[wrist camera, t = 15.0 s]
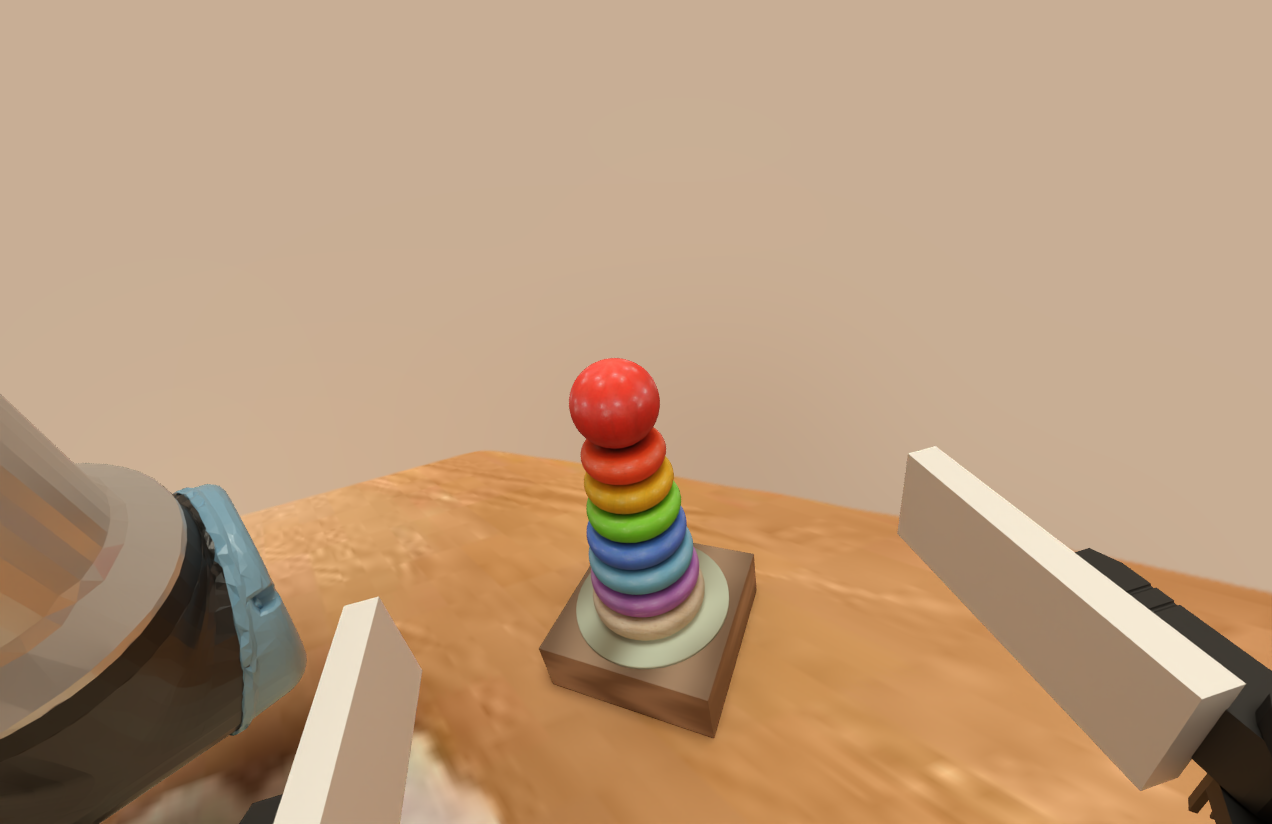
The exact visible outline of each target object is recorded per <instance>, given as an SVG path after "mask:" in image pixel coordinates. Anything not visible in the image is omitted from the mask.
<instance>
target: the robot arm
mask: <svg viewBox="0 0 1272 824" xmlns="http://www.w3.org/2000/svg"><path fill="white" fill-rule="evenodd" d="M898 535H899V536H900V537H901V538H902V539H903V540H904V541H905V542H906V543H907V544H908V545H909V546H910V547H911V548H912V550H913V551H914V552H915V553H916V554H917V555H918V556H919V557H920V558H921V559H922V560H923V561H924V562H925V563H926V564H927V565H928V566H929V568H930V569H931V570H932V571H933V572H934V573H935V574H936V575H937V576H938V577H939V578H940V579H941V580H942V581H943V582H944V583H945V585H946V586H947V587H948V588H949V589H950V590H951V591H952V592H953V593H954V594H955V595H956V596H957V597H958V598H959V599H960V600H961V602H962V603H963V604H964V605H965V606H966V607H967V608H968V609H969V610H970V611H971V612H972V613H973V614H974V615H975V616H976V617H977V618H978V620H979V621H980V622H981V623H982V624H983V625H984V626H985V627H986V628H987V629H988V630H989V631H990V632H991V633H992V634H993V635H994V637H995V638H996V639H997V640H998V641H999V642H1000V643H1001V644H1002V645H1003V646H1004V647H1005V648H1006V649H1007V650H1008V651H1009V652H1010V653H1011V655H1012V656H1013V657H1014V658H1015V659H1016V660H1017V661H1018V662H1019V663H1020V664H1021V665H1022V666H1023V667H1024V668H1025V669H1026V670H1027V672H1028V673H1029V674H1030V675H1031V676H1032V677H1033V678H1034V679H1035V680H1036V681H1037V682H1038V683H1039V684H1040V685H1041V686H1042V687H1043V689H1044V690H1045V691H1046V692H1047V693H1048V694H1049V695H1050V696H1051V697H1052V698H1053V699H1054V700H1055V701H1056V702H1057V703H1058V704H1059V705H1060V707H1061V708H1062V709H1063V710H1064V711H1065V712H1066V713H1067V714H1068V715H1069V716H1070V717H1071V718H1072V719H1073V720H1074V721H1075V722H1076V724H1077V725H1078V726H1079V727H1080V728H1081V729H1082V730H1083V731H1084V732H1085V733H1086V734H1087V735H1088V736H1089V737H1090V738H1091V739H1092V740H1093V742H1094V743H1095V744H1096V745H1097V746H1098V747H1099V748H1100V749H1101V750H1102V751H1103V752H1104V753H1105V754H1106V755H1107V756H1108V757H1109V759H1110V760H1111V761H1112V762H1113V763H1114V764H1115V765H1116V766H1117V767H1118V768H1119V769H1120V770H1121V771H1122V772H1123V773H1124V774H1125V775H1126V777H1127V778H1128V779H1129V780H1130V781H1131V782H1132V783H1133V784H1134V785H1135V786H1136V787H1137V788H1138V789H1139V790H1140V791H1142V790H1145V789H1147V788H1150V787H1153V786H1156V785H1158V784H1161V783H1164V782H1167V781H1169V780H1172V779H1175V778H1178V777H1179V776H1180V774H1181V773H1182V771H1183V770H1184V769H1185V767H1186V766H1187V765H1188V763H1189V762H1190V760H1191V759H1193V760H1194V761H1195V762H1196V763H1197V764H1198V765H1199V766H1200V767H1201V768H1203V769H1204V770H1205V771H1206V772H1207V775H1206V776H1205V777H1204V778H1203V780H1202V781H1201V782H1200V784H1199V785H1198V786H1197V787H1196V789H1195V790H1194V791H1193V793H1192V794H1191V795H1190V796H1189V798H1188V803H1189V811H1191V812H1194V813H1198V812H1199V811H1200V810H1201V809H1202V807H1203V806H1204V805H1205V804H1206V802H1207V801H1208V800H1209V802H1210V805H1211V809H1212V812H1211V814H1210V818H1211V819H1214V820H1215V822H1216V824H1272V671H1271V670H1270V669H1268V668H1267V667H1265V666H1264V665H1263V664H1261V663H1260V662H1258V661H1257V660H1256V659H1254V658H1253V657H1251V656H1250V655H1249V654H1247V653H1246V652H1245V651H1243V650H1242V649H1240V648H1239V647H1238V646H1236V645H1235V644H1233V643H1232V642H1231V641H1229V640H1228V639H1227V638H1225V637H1224V636H1222V635H1221V634H1220V633H1218V632H1217V631H1215V630H1214V629H1213V628H1211V627H1210V626H1209V625H1207V624H1206V623H1204V622H1203V621H1202V620H1200V619H1199V618H1198V617H1196V616H1195V615H1193V614H1192V613H1191V612H1189V611H1188V610H1186V609H1185V608H1184V607H1182V606H1181V605H1176V604H1175V603H1174V600H1173V599H1171V598H1170V597H1168V596H1167V595H1166V594H1164V593H1163V592H1162V591H1160V590H1159V589H1157V588H1153V587H1152V586H1151V583H1149V582H1148V581H1146V580H1145V579H1144V578H1142V577H1141V576H1139V575H1138V574H1137V573H1135V572H1134V571H1133V570H1131V569H1130V568H1128V567H1127V566H1126V565H1124V564H1123V563H1121V562H1119V561H1117V560H1114V559H1112V558H1110V557H1108V556H1106V555H1103V554H1101V553H1099V552H1096V551H1094V550H1092V549H1090V548H1088V549H1085V550H1081V551H1078V552H1073V551H1072V550H1071V549H1069V548H1068V547H1067V546H1065V545H1064V544H1062V543H1061V542H1060V541H1059V540H1058V539H1056V538H1055V537H1054V536H1052V535H1051V534H1050V533H1048V532H1047V531H1046V530H1044V529H1043V528H1042V527H1040V526H1039V525H1038V524H1037V523H1035V522H1034V521H1033V520H1031V519H1030V518H1029V517H1027V516H1026V515H1025V514H1024V513H1022V512H1021V511H1020V510H1018V509H1017V508H1016V507H1014V506H1013V505H1012V504H1010V503H1009V502H1008V501H1007V500H1005V499H1004V498H1003V497H1001V496H1000V495H999V494H997V493H996V492H995V491H993V490H992V489H991V488H990V487H988V486H987V485H986V484H984V483H983V482H982V481H980V480H979V479H978V478H976V477H975V476H974V475H973V474H971V473H970V472H969V471H967V470H966V469H965V468H963V467H962V466H961V465H960V464H958V463H957V462H956V461H954V460H953V459H952V458H950V457H949V456H948V455H946V454H945V453H944V452H942V451H941V450H940V449H939V448H937V447H936V446H934V447H931V448H927V449H923V450H920V451H916V452H912V453H908V458H907V466H906V473H905V482H904V488H903V496H902V503H901V512H900V518H899V526H898ZM306 661H307V658H306V652H305V649H304V646H303V643H302V641H301V639H300V636H299V634H298V632H297V630H296V628H295V626H294V624H293V622H292V619H291V617H290V615H289V613H288V611H287V609H286V607H285V605H284V603H283V601H282V600H281V598H280V596H279V594H278V593H277V591H276V589H275V587H274V583H273V581H272V580H271V578H270V576H269V574H268V571H267V569H266V567H265V564H264V562H263V560H262V558H261V556H260V554H259V552H258V550H257V548H256V547H255V545H254V543H253V541H252V539H251V537H250V535H249V533H248V531H247V529H246V527H245V525H244V524H243V522H242V520H241V518H240V516H239V514H238V512H237V510H236V509H235V507H234V505H233V503H232V501H231V500H230V498H229V496H228V494H227V493H226V491H225V490H224V489H222V488H221V487H220V486H217V485H210V484H206V485H202V486H199V487H195V488H184V489H182V490H179V491H176V492H175V493H173V494H171V493H170V492H169V491H168V490H167V489H166V488H165V487H164V486H162V485H161V484H160V483H158V482H157V481H156V480H155V479H154V478H152V477H150V476H147V475H146V474H143V473H141V472H139V471H136V470H132V469H129V468H125V467H120V466H114V465H108V464H92V463H91V464H90V463H81V464H74V463H73V462H72V461H71V460H70V459H69V458H68V457H67V456H66V455H65V454H64V453H63V452H62V451H60V450H59V449H58V448H57V447H56V446H55V445H54V444H53V443H52V442H51V441H50V440H49V439H48V438H47V437H46V436H44V435H43V434H42V433H41V432H40V431H39V430H38V429H37V428H36V427H35V426H34V425H33V424H32V423H31V422H30V421H29V420H28V419H26V418H25V417H24V416H23V415H22V414H21V413H20V412H19V411H18V410H17V409H16V408H15V407H14V406H13V405H12V404H11V403H9V402H8V401H7V400H6V399H5V398H4V397H3V396H2V395H1V394H0V824H99V823H101V822H102V821H104V820H105V819H107V818H108V817H110V816H111V815H113V814H114V813H115V812H117V811H118V810H120V809H121V808H123V807H124V806H126V805H127V804H129V803H130V802H132V801H133V800H135V799H136V798H137V797H139V796H140V795H142V794H143V793H145V792H146V791H148V790H149V789H151V788H152V787H154V786H155V785H157V784H158V783H159V782H161V781H162V780H164V779H165V778H167V777H168V776H170V775H171V774H173V773H174V772H176V771H177V770H178V769H180V768H181V767H183V766H184V765H186V764H187V763H189V762H190V761H192V760H193V759H195V758H196V757H198V756H199V755H200V754H202V753H203V752H205V751H206V750H208V749H209V748H211V747H212V746H214V745H215V744H217V743H218V742H220V741H221V740H222V739H224V738H225V737H227V736H228V735H233V736H234V735H236V734H238V733H240V732H242V731H243V730H245V729H246V728H247V727H248V725H250V723H251V721H252V719H253V718H255V717H256V716H257V715H259V714H260V713H261V712H263V711H264V710H265V709H267V708H268V707H269V706H271V705H272V704H273V703H275V702H276V701H277V700H279V699H280V698H281V697H283V696H284V695H285V694H287V693H288V692H290V691H291V690H292V689H293V688H294V687H295V686H296V684H297V683H298V682H299V680H300V679H301V677H302V675H303V673H304V671H305V667H306ZM421 675H422V669H421V667H420V666H419V664H418V662H417V661H416V659H415V657H414V655H413V654H412V652H411V650H410V649H409V647H408V645H407V644H406V642H405V640H404V638H403V637H402V635H401V633H400V632H399V630H398V628H397V627H396V625H395V623H394V622H393V620H392V618H391V616H390V615H389V613H388V611H387V610H386V608H385V606H384V605H383V603H382V601H381V599H380V598H379V597H375V598H372V599H368V600H364V601H361V602H357V603H353V604H349V605H346V606H344V608H343V611H342V614H341V617H340V620H339V623H338V626H337V629H336V632H335V635H334V638H333V642H332V645H331V648H330V651H329V654H328V657H327V660H326V663H325V666H324V669H323V672H322V675H321V678H320V682H319V685H318V688H317V691H316V694H315V697H314V700H313V703H312V706H311V709H310V712H309V715H308V718H307V722H306V725H305V728H304V731H303V734H302V737H301V740H300V743H299V746H298V749H297V752H296V755H295V759H294V762H293V765H292V768H291V771H290V774H289V777H288V780H287V783H286V786H285V789H284V792H283V794H282V795H278V796H275V797H272V798H268V799H265V800H262V801H259V802H255V803H253V804H252V805H251V807H250V808H249V810H248V811H247V813H246V814H245V816H244V817H243V819H242V820H241V822H240V823H239V824H400V818H401V811H402V805H403V798H404V791H405V784H406V777H407V770H408V764H409V757H410V750H411V743H412V736H413V729H414V723H415V716H416V709H417V702H418V695H419V688H420V682H421Z"/></svg>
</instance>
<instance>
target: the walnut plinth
mask: <svg viewBox="0 0 1272 824" xmlns="http://www.w3.org/2000/svg"><path fill="white" fill-rule="evenodd" d="M693 546H694V548H695V550H696V552H697V555H698V559H699V567H700V569H701V571H702V574H703V578H704V582H705V593H704V598H703V602H702V605H701V607H700V609H699V611H698V613H697V614H696V616H695V617H694V618H693V620H692V621H691V622H690V623H689V624H688V625H686V626H685V627H684V628H683V629H681V630H680V631H678V632H676V633H675V634H672V635H670V636H668V637H665V638H662V639H657V640H649V641H642V640H634V639H629V638H626V637H623V636H621V635H619V634H617V633H615V632H613V631H612V630H611V629H609V628H608V627H607V626H606V625H605V624H604V623H603V622H602V620H601V619H600V617H599V616H598V614H597V612H596V609H595V606H594V601H593V585H592V581H591V565H590V567H589V569H588V570H587V572H586V573H585V575H584V577H583V578H582V580H581V582H580V583H579V585H578V586H577V588H576V590H575V591H574V593H573V594H572V596H571V598H570V599H569V601H568V603H567V604H566V606H565V607H564V609H563V611H562V612H561V614H560V615H559V617H558V619H557V620H556V622H555V623H554V625H553V627H552V628H551V630H550V632H549V633H548V635H547V636H546V638H545V640H544V641H543V643H542V644H541V646H540V648H539V650H540V652H541V655H542V657H543V660H544V662H545V665H546V667H547V670H548V672H549V675H550V677H551V680H552V682H553V684H556V685H558V686H561V687H564V688H567V689H570V690H573V691H576V692H579V693H582V694H585V695H588V696H591V697H594V698H597V699H600V700H603V701H606V702H609V703H612V704H615V705H617V706H620V707H623V708H626V709H629V710H632V711H635V712H638V713H641V714H644V715H647V716H650V717H653V718H656V719H659V720H662V721H665V722H668V723H671V724H674V725H676V726H679V727H682V728H685V729H688V730H691V731H694V732H697V733H700V734H703V735H706V736H709V737H712V738H714V736H715V733H716V730H717V726H718V723H719V719H720V716H721V712H722V709H723V705H724V702H725V698H726V695H727V691H728V688H729V684H730V681H731V677H732V674H733V670H734V667H735V663H736V660H737V656H738V653H739V649H740V646H741V642H742V639H743V635H744V632H745V628H746V625H747V621H748V618H749V614H750V611H751V607H752V604H753V600H754V597H755V593H756V578H755V564H754V554H750V553H745V552H739V551H734V550H728V549H723V548H718V547H712V546H707V545H701V544H696V543H693Z"/></svg>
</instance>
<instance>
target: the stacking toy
mask: <svg viewBox="0 0 1272 824" xmlns="http://www.w3.org/2000/svg"><path fill="white" fill-rule="evenodd" d="M659 408H660V398H659V393H658V389H657V387H656V384H655V382H654V380H653V379H652V377H651V376H650V375H649V373H648V372H647V371H646V370H645V369H644V368H642V367H641V366H639V365H638V364H636V363H634V362H632V361H629V360H625V359H620V358H610V359H604V360H600V361H598V362H595V363H593V364H591V365H590V366H588V367H587V368H586V369H584V371H582V372H581V373H580V375H579V376H578V377H577V379H576V380H575V382H574V384H573V386H572V389H571V392H570V397H569V409H570V413H571V417H572V420H573V422H574V424H575V426H576V428H577V429H578V431H579V432H580V433H581V434H582V435H583V436H584V437H585V438H586V440H585V442H584V444H583V446H582V449H581V462H582V465H583V467H584V469H585V470H586V474H585V477H584V488H585V491H586V494H587V496H588V501H587V516H588V519H589V522H588V525H587V540H588V543H589V546H590V547H589V561H590V565H591V581H592V585H593V601H594V606H595V609H596V612H597V614H598V616H599V617H600V619H601V620H602V622H603V623H604V624H605V625H606V626H607V627H608V628H609V629H611V630H612V631H613V632H615V633H617V634H619V635H621V636H623V637H626V638H629V639H634V640H642V641H649V640H657V639H662V638H665V637H668V636H670V635H672V634H675V633H676V632H678V631H680V630H681V629H683V628H684V627H685V626H686V625H688V624H689V623H690V622H691V621H692V620H693V618H694V617H695V616H696V614H697V613H698V611H699V609H700V607H701V605H702V602H703V598H704V593H705V582H704V578H703V574H702V571H701V569H700V567H699V559H698V555H697V552H696V550H695V548H694V546H693V540H692V536H691V533H690V531H689V529H688V528H687V525H686V516H685V513H684V511H683V508H682V507H681V495H680V491H679V488H678V486H677V485H676V483H675V482H674V481H673V479H674V473H673V468H672V465H671V463H670V461H669V460H668V459H667V458H666V456H665V454H666V444H665V441H664V439H663V437H662V435H661V434H660V433H659V432H658V430H656V429H655V428H654V427H653V426H654V424H655V422H656V420H657V417H658V413H659Z"/></svg>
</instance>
